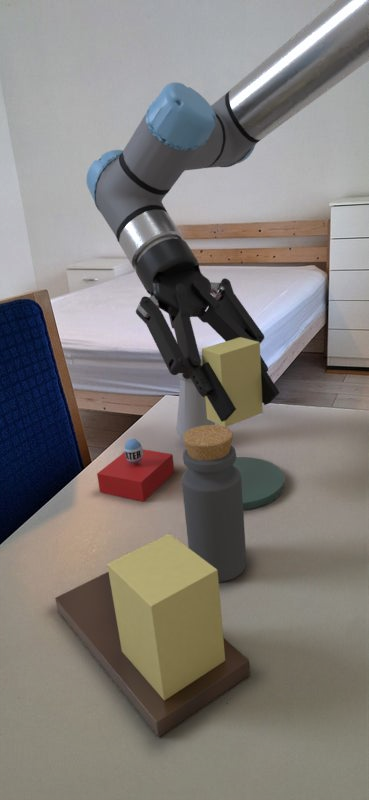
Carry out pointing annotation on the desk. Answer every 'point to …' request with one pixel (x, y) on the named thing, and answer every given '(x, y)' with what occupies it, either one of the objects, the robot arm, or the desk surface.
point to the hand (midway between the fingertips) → (250, 406)
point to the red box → (135, 472)
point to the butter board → (99, 632)
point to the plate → (259, 481)
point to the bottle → (214, 500)
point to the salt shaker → (190, 407)
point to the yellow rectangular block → (236, 377)
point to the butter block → (168, 613)
